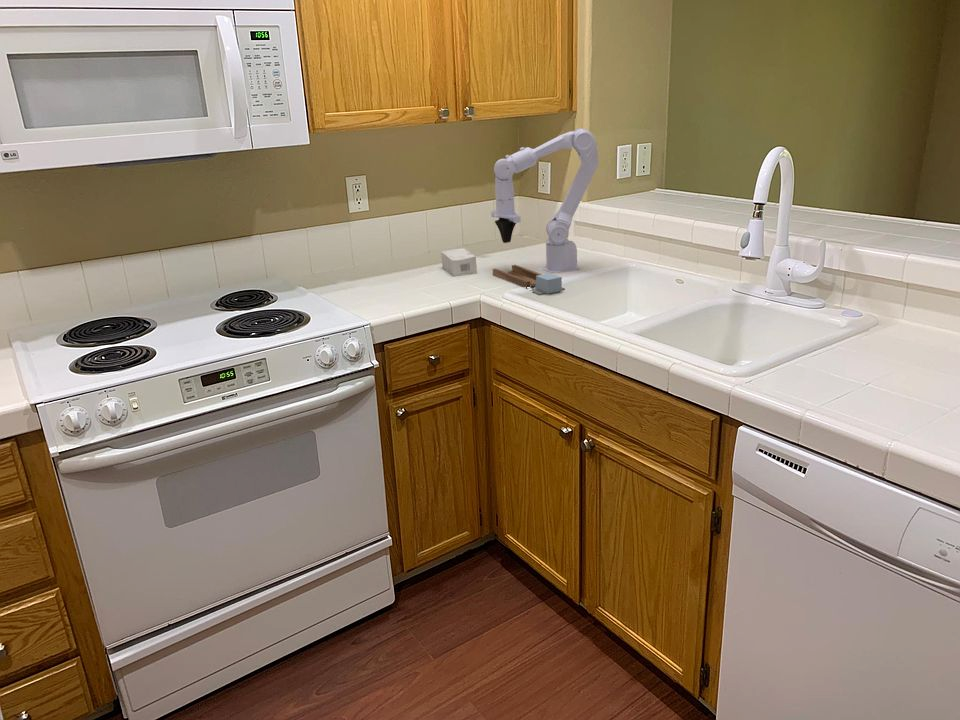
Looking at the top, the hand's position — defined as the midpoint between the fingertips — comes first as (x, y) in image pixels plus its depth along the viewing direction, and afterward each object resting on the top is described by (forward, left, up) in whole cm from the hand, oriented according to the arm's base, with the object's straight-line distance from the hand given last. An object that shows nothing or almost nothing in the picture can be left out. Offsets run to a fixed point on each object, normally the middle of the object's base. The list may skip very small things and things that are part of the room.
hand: (506, 242), depth 231 cm
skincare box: (+13, -5, -7) cm, 15 cm away
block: (+2, +26, -10) cm, 28 cm away
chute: (+2, +14, -10) cm, 18 cm away
